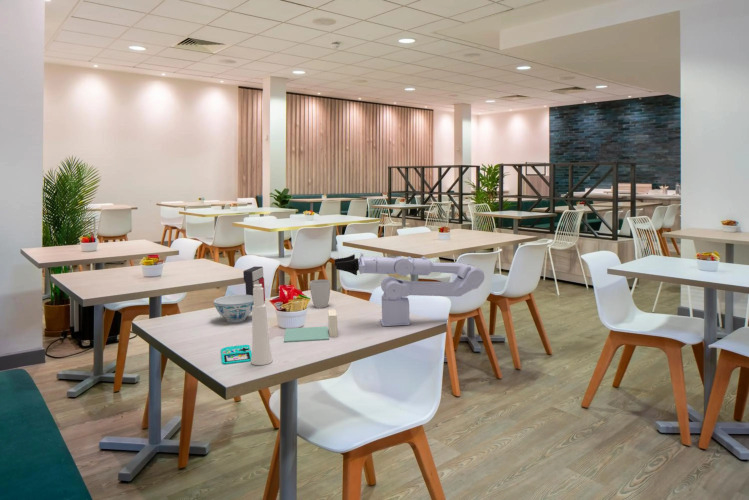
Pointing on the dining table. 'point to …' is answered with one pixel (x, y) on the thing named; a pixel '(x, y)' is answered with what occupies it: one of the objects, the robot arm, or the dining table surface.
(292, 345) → the dining table surface
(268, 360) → the cosmetic bottle
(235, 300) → the chinaware
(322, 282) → the cup
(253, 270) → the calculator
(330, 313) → the card box
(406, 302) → the robot arm
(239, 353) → the handheld gaming console
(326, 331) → the mat
